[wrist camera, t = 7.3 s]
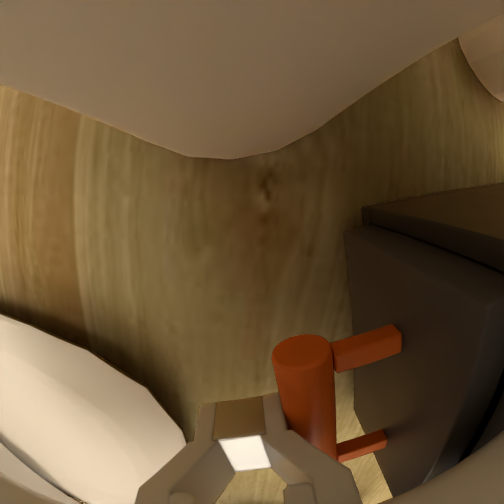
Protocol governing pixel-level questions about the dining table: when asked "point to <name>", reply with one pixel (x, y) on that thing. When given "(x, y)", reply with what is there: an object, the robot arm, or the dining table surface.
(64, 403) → the plate
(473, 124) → the dining table surface
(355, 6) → the mug
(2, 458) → the building blocks
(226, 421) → the robot arm
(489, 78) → the cream round jar
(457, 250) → the fryer
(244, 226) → the dining table surface
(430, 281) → the drawer
